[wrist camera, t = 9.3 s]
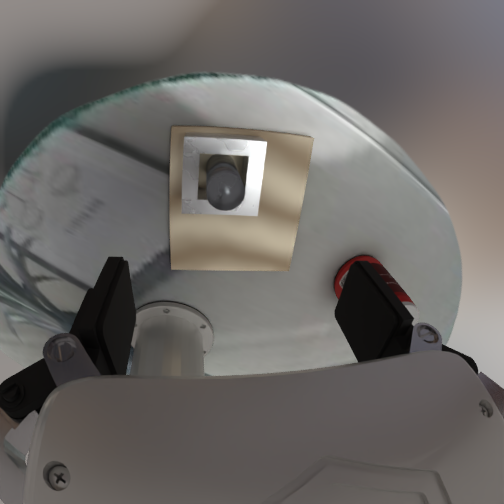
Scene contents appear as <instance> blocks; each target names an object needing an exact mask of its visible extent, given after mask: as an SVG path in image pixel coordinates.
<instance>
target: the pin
mask: <svg viewBox="0 0 504 504" xmlns="http://www.w3.org/2000/svg"><path fill="white" fill-rule="evenodd" d="M206 196H207V199H208V202H209V203H210V204H211V205H212V206H213V207H214V208H216V209H218V210H221V211H229V210H232V209H235V208H236V207H238V206H239V205H240V204H241V203H242V201H243V199H244V196H245V188H244V185H243V182H242V180H241V178H240V175H239V173H238V170H237V168H236V165H235V163H234V160H233V159H232V157H230V156H229V155H224V154H214V155H212V156H211V157H210V158H209V160H208V161H207V164H206Z"/></svg>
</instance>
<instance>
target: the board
mask: <svg viewBox="0 0 504 504" xmlns="http://www.w3.org/2000/svg"><path fill="white" fill-rule="evenodd" d="M187 132H203V133H223V134H239V135H251V136H260V137H261V138H263V139H264V140H265V141H267V146H266V154H265V162H264V170H263V177H262V185H261V193H260V201H259V208H258V216H242V215H214V214H181V212H182V169H183V146H184V136H185V134H186V133H187ZM313 141H314V138H312V137H310V136H304V135H297V134H289V133H281V132H273V131H264V130H253V129H242V128H228V127H210V126H172V128H171V149H170V251H171V270H223V271H289V268H290V263H291V258H292V254H293V249H294V244H295V239H296V234H297V229H298V224H299V219H300V214H301V208H302V203H303V198H304V192H305V187H306V181H307V176H308V170H309V164H310V159H311V153H312V147H313ZM212 155H214V154H201V153H200V164H199V182H198V187H199V188H206V164H207V161H208V160H209V158H210V157H211V156H212ZM229 156H230V157H232V159H233V160H234V163H235V165H236V168H237V170H238V173H239V175H240V178H241V173H242V164H243V156H240V155H229Z"/></svg>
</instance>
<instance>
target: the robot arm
mask: <svg viewBox="0 0 504 504" xmlns="http://www.w3.org/2000/svg"><path fill="white" fill-rule="evenodd" d="M335 318H336V320H337V322H338V324H339V326H340V327H341V329H342V331H343V333H344V335H345V337H346V339H347V341H348V343H349V345H350V347H351V349H352V351H353V353H354V355H355V357H356V359H357V360H358V363H352V364H346V365H339V366H332V367H325V368H317V369H309V370H300V371H290V372H279V373H267V374H252V375H232V376H204V356H205V355H206V354H207V353H208V352H209V351H210V350H211V348H212V346H213V341H214V335H213V329H212V326H211V324H210V322H209V321H208V320H207V319H206V317H205V316H204V315H202V314H201V313H200V312H198V311H197V310H195V309H193V308H191V307H188V306H186V305H183V304H178V303H174V302H157V303H152V304H148V305H145V306H143V307H141V308H139V309H138V310H137V311H136V309H135V304H134V298H133V292H132V286H131V279H130V273H129V265H128V261H124V259H123V257H108V259H107V261H106V263H105V265H104V267H103V269H102V271H101V273H100V276H99V278H98V280H97V282H96V284H95V286H94V288H90V289H89V290H88V291H87V293H86V295H85V297H84V300H83V302H82V304H81V306H80V309H79V311H78V313H77V316H76V318H75V320H74V323H73V325H72V328H71V330H70V333H60V334H57V335H55V336H53V337H51V338H50V339H49V340H48V341H47V342H46V343H45V345H44V347H43V356H44V358H43V359H41V360H39V361H38V362H36V363H34V364H32V365H30V366H29V367H27V368H25V369H23V370H22V371H20V372H18V373H16V374H15V375H13V376H11V377H10V378H8V379H6V380H5V381H3V383H1V385H0V499H1V500H2V501H3V502H4V503H5V504H504V389H503V388H501V387H500V386H499V385H498V384H496V383H495V382H494V381H493V380H491V379H490V378H488V377H487V376H486V375H485V374H483V373H482V372H480V373H479V374H478V368H477V365H476V363H475V362H474V360H473V359H472V358H471V357H468V356H466V355H464V354H462V353H460V352H458V351H455V350H453V349H451V348H449V347H447V346H445V345H443V344H442V338H441V335H440V333H439V331H438V330H437V329H436V328H434V327H433V326H432V325H430V324H427V323H417V324H415V325H414V326H413V325H412V322H413V320H414V317H413V316H412V315H411V313H410V312H409V311H408V310H407V308H406V307H405V306H404V304H403V303H402V302H401V301H400V299H399V298H398V297H397V295H396V294H395V293H394V292H393V290H392V289H391V288H390V287H389V286H388V284H387V283H386V282H385V281H384V279H383V278H382V277H381V276H380V275H379V273H378V272H377V271H376V270H375V269H374V267H373V266H372V265H371V264H370V263H369V262H368V261H355V262H354V263H353V264H351V265H350V268H349V271H348V274H347V277H346V280H345V283H344V286H343V289H342V292H341V295H340V297H339V300H338V303H337V306H336V309H335ZM131 345H132V347H133V348H134V353H133V359H132V365H131V371H130V375H126V370H127V364H128V359H129V353H130V348H131ZM28 451H29V455H28V460H27V466H26V463H25V456H26V454H27V452H28Z"/></svg>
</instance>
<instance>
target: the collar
mask: <svg viewBox="0 0 504 504" xmlns="http://www.w3.org/2000/svg"><path fill="white" fill-rule="evenodd" d="M266 146H267V141H265V140H264V139H263V138H261V137H260V136H251V135H239V134H223V133H203V132H187V133H186V134H185V136H184V146H183V169H182V212H181V214H214V215H242V216H258V208H259V201H260V193H261V185H262V177H263V170H264V162H265V154H266ZM200 153H201V154H224V155H240V156H243V164H242V173H241V180H242V182H243V185H244V188H245V196H244V199H243V201H242V203H241V204H240V205H239V206H238V207H236V208H235V209H232V210H229V211H221V210H218V209H216V208H214V207H213V206H212V205H211V204H210V203H209V202H208V199H207V196H206V188H199V187H198V182H199V164H200Z"/></svg>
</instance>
